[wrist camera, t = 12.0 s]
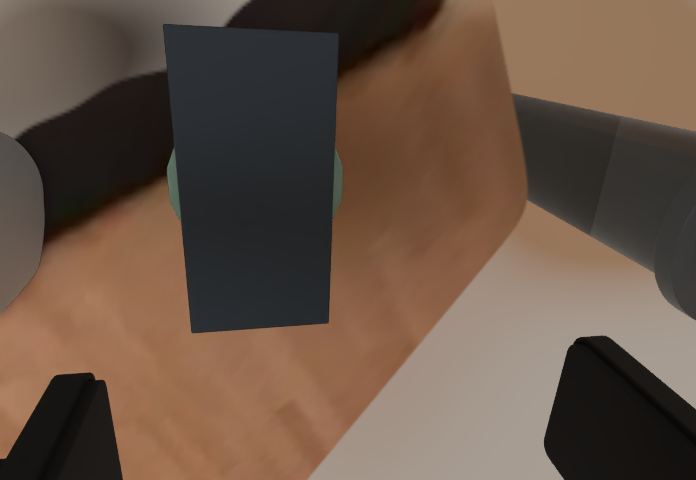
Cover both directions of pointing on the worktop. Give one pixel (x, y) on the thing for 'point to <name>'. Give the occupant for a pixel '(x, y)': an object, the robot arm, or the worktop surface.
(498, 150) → the worktop surface
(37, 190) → the lumpy-topped squat cylinder
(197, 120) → the dark blue flat block
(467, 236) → the worktop surface
